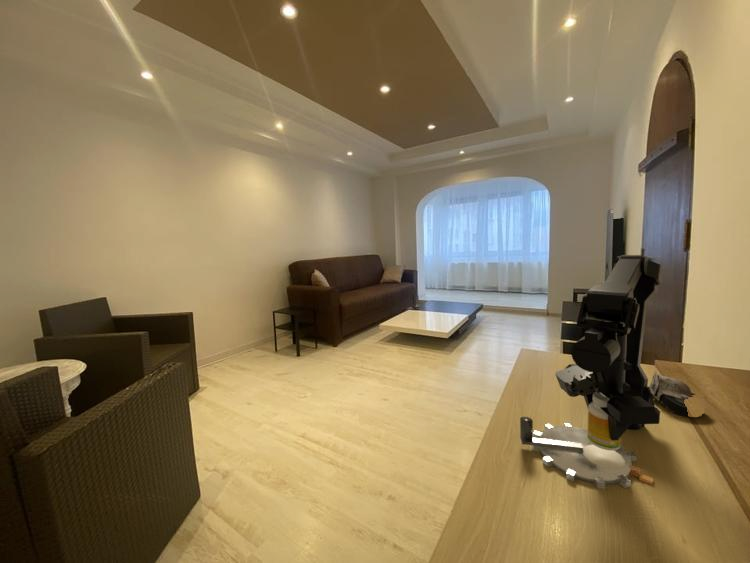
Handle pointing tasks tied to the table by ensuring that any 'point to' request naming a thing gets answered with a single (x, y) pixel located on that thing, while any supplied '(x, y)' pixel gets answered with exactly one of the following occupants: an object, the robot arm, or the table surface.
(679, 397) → the caster wheel
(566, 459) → the sprocket
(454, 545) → the table surface
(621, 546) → the table surface
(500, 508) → the table surface
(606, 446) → the supplement bottle
